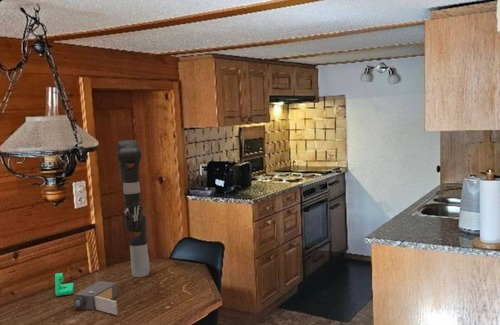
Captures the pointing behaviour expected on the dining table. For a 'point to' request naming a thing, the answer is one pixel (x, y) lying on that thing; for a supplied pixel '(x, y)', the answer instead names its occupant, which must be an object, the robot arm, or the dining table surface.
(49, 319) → the dining table surface
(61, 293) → the camera mount
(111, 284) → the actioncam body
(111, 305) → the side door
